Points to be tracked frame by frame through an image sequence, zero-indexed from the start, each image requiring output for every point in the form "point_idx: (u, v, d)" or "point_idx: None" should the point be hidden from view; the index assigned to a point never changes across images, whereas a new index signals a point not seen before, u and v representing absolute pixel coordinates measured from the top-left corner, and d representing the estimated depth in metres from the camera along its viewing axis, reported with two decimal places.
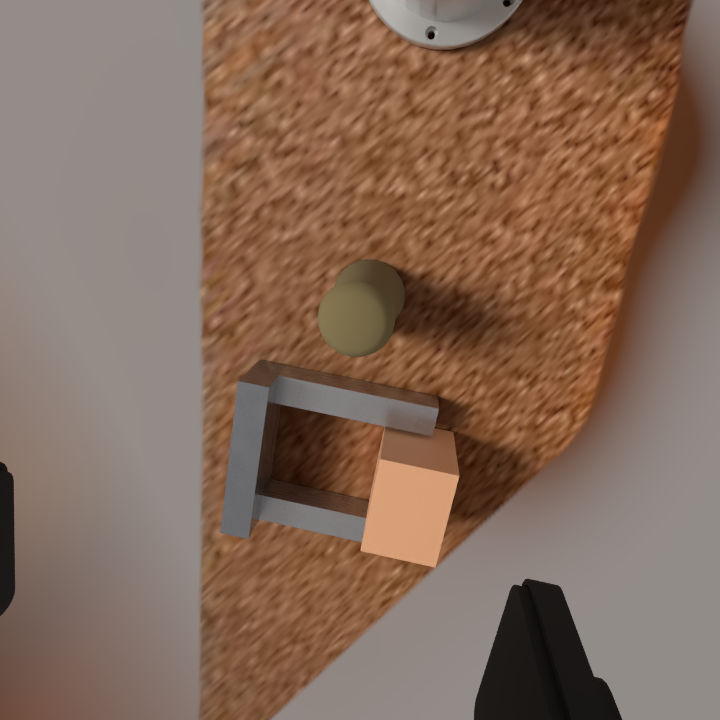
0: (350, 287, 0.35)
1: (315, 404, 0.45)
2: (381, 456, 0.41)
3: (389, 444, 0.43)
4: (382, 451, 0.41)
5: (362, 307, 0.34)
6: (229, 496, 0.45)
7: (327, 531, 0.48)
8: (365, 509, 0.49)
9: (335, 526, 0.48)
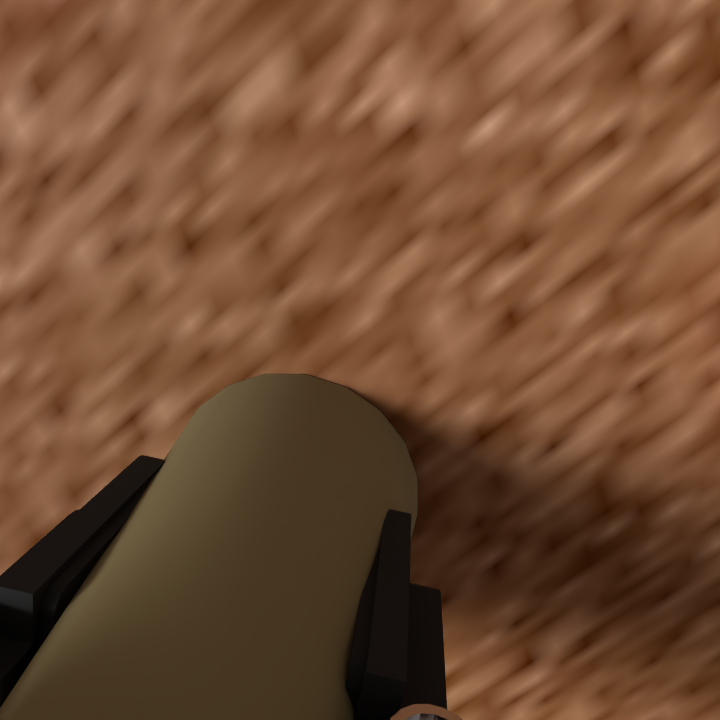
0: None
1: None
2: None
3: None
4: None
5: None
6: None
7: None
8: None
9: None
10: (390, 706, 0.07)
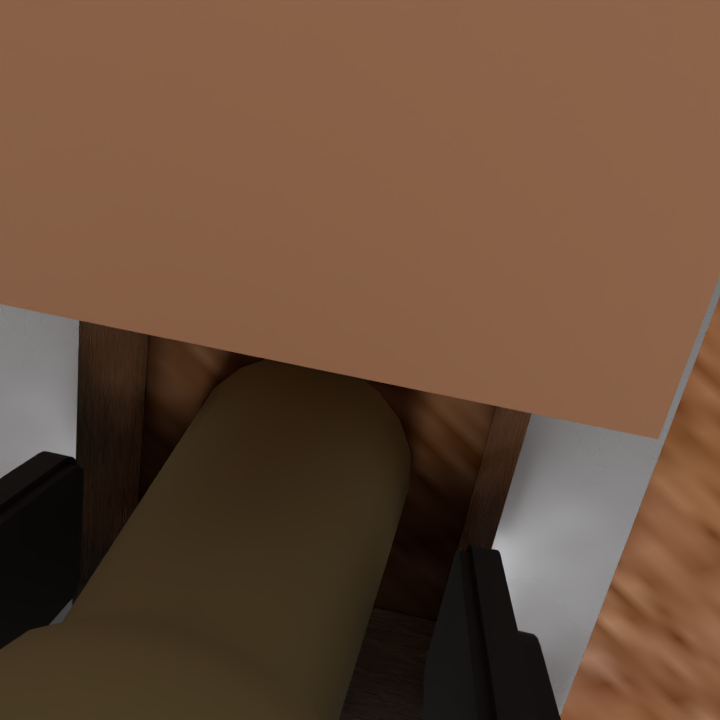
0: None
1: None
2: None
3: None
4: None
5: None
6: None
7: (625, 499, 0.10)
8: None
9: (601, 462, 0.10)
10: None
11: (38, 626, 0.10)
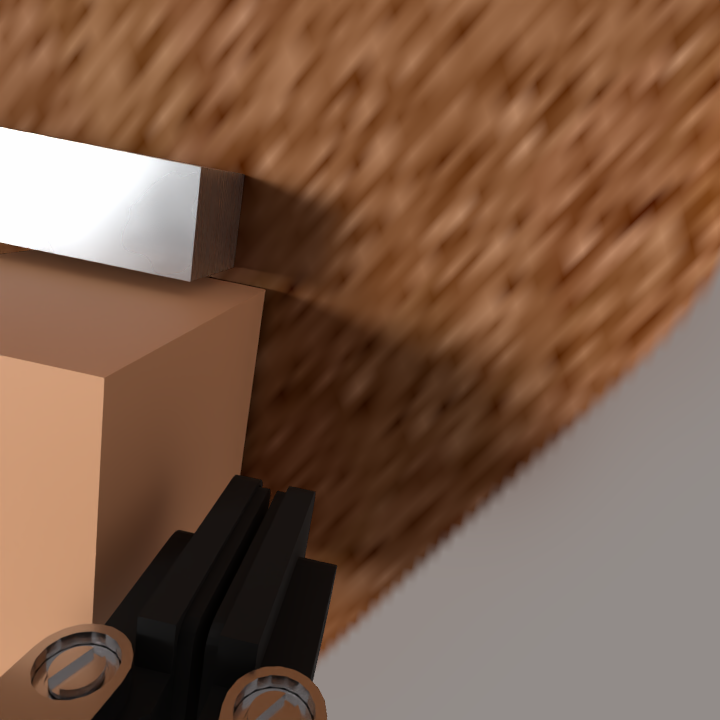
0: None
1: None
2: None
3: None
4: None
5: None
6: None
7: None
8: None
9: None
10: (246, 669, 0.07)
11: None
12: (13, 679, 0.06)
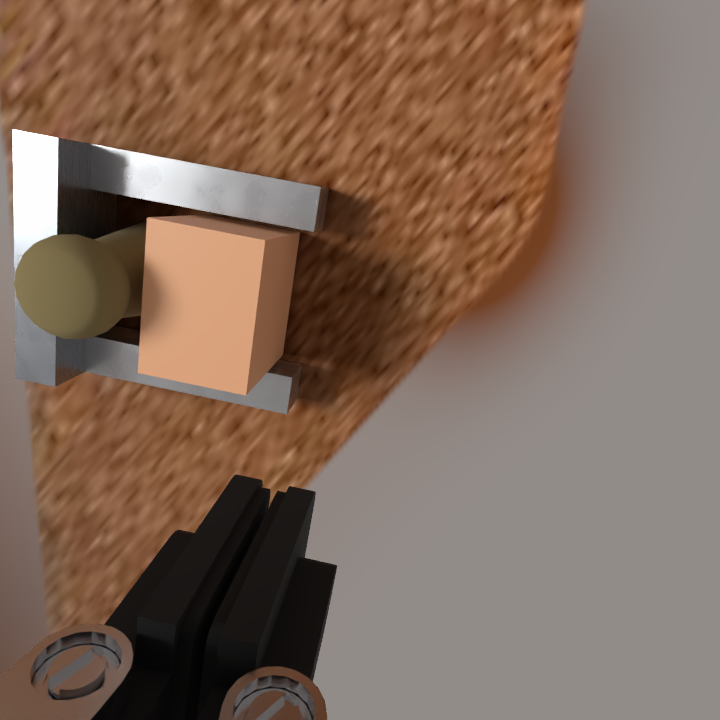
0: (104, 285, 0.25)
1: (146, 188, 0.31)
2: (153, 217, 0.27)
3: (181, 218, 0.29)
4: (161, 217, 0.28)
5: (75, 305, 0.25)
6: (21, 320, 0.31)
7: (179, 387, 0.35)
8: None
9: None
10: (246, 669, 0.07)
11: None
12: (13, 679, 0.06)
